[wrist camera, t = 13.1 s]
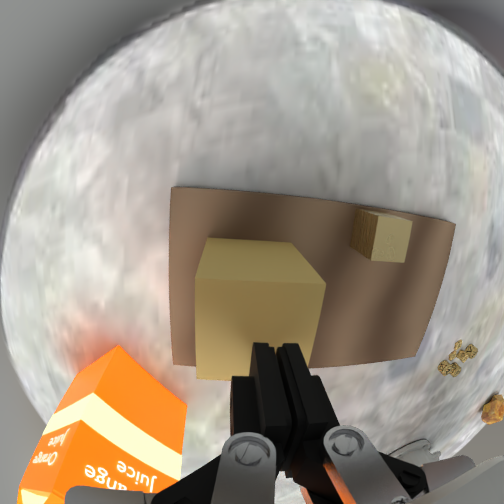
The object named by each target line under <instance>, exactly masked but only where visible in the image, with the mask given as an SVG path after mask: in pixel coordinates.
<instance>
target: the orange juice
mask: <svg viewBox="0 0 504 504" xmlns="http://www.w3.org/2000/svg"><path fill="white" fill-rule="evenodd" d="M186 411H187V405H186V404H185V403H183V402H182V401H181V400H179V399H178V398H177V397H176V396H174V395H173V394H172V393H171V392H170V391H168V390H167V389H166V388H165V387H163V386H162V385H161V384H160V383H159V382H158V381H156V380H155V379H154V378H153V377H152V376H151V375H150V374H149V373H147V372H146V371H145V370H144V369H143V368H142V367H141V366H140V365H139V364H138V363H137V362H135V361H134V360H133V359H132V358H131V357H130V356H129V355H128V354H127V353H126V352H125V351H124V350H123V349H122V348H121V347H120V346H119V345H118V346H116V347H115V348H114V349H112V350H111V351H109V352H108V353H106V354H105V355H104V356H102V357H101V358H99V359H98V360H97V361H95V362H94V363H92V364H91V365H89V366H88V367H87V368H85V369H84V370H82V371H81V372H79V373H78V374H77V375H76V377H75V378H74V380H73V382H72V383H71V385H70V387H69V388H68V390H67V392H66V393H65V395H64V397H63V399H62V400H61V402H60V404H59V406H58V407H57V409H56V411H55V413H54V414H53V415H52V417H51V419H50V421H49V423H48V425H47V427H46V429H45V430H44V432H43V434H42V435H43V436H42V438H41V440H40V442H39V444H38V446H37V448H36V450H35V452H34V454H33V456H32V458H31V460H30V463H29V465H28V467H27V469H26V472H25V474H24V476H23V479H22V481H21V483H20V486H19V492H18V500H17V504H64V498H65V495H66V492H67V491H68V490H69V489H70V488H71V487H74V486H76V485H84V486H91V487H98V488H107V489H117V490H133V491H143V492H144V493H158V492H160V491H161V490H163V489H165V488H167V487H169V486H170V485H172V484H174V483H176V482H178V481H179V480H180V473H181V462H182V445H183V436H184V428H185V419H186Z"/></svg>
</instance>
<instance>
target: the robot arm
mask: <svg viewBox="0 0 504 504" xmlns="http://www.w3.org/2000/svg"><path fill="white" fill-rule="evenodd" d="M230 434H231V437H230V438H229V439H228V440H227V441H226V442H225V443H224V446H223V448H222V453H221V455H219V456H218V457H216V458H215V459H213V460H212V461H210V462H209V463H207V464H206V465H204V466H202V467H201V468H199V469H198V470H196V471H194V472H193V473H191V474H190V475H188V476H186V477H185V478H183V479H181V480H179V481H178V482H176V483H174V484H172V485H170V486H169V487H167V488H165V489H163V490H161V491H160V492H158V493H144V492H143V491H133V490H117V489H107V488H98V487H91V486H84V485H76V486H74V487H71V488H70V489H69V490H68V491H67V492H66V495H65V498H64V504H274V497H275V481H276V478H277V476H278V474H279V471H285V476H286V478H293V481H294V482H295V483H297V484H299V485H300V490H301V493H302V495H303V497H304V500H305V502H306V504H504V455H502V456H498V457H495V458H492V459H489V460H487V461H485V462H483V463H481V464H479V465H477V466H475V463H474V462H473V460H472V459H471V458H469V457H468V456H464V455H461V456H456V457H452V458H448V459H444V460H440V461H439V456H440V455H441V452H440V451H437V452H435V453H433V454H431V453H430V452H429V449H430V443H429V441H428V440H420V441H416V442H414V443H411V444H409V445H407V446H405V447H403V448H401V449H399V450H397V451H396V452H394V453H392V454H391V455H386V454H384V453H381V452H378V451H377V450H376V448H375V447H374V445H373V444H372V443H371V441H370V440H369V438H368V437H367V435H366V434H365V433H364V432H363V431H361V430H360V429H358V428H356V427H353V426H346V425H342V426H340V424H339V422H338V420H337V417H336V415H335V412H334V410H333V408H332V405H331V403H330V400H329V398H328V396H327V393H326V391H325V388H324V386H323V384H322V381H321V379H320V377H319V376H318V375H314V376H311V374H310V372H309V369H308V367H307V364H306V361H305V359H304V356H303V354H302V351H301V349H300V346H299V344H298V343H283V344H282V347H277V350H276V353H275V349H274V347H269V344H268V343H260V342H253V346H252V354H251V362H250V370H249V376H232V378H231V392H230Z"/></svg>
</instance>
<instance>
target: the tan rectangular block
mask: <svg viewBox="0 0 504 504" xmlns="http://www.w3.org/2000/svg"><path fill="white" fill-rule="evenodd" d="M325 288H326V283H325V281H324V280H323V279H322V278H321V277H320V276H319V274H318V273H317V272H316V271H315V270H314V268H313V267H312V266H311V265H310V264H309V263H308V261H307V260H306V259H305V258H304V257H303V256H302V254H301V253H300V252H299V251H298V250H297V249H296V248H295V246H294V245H293V244H292V243H288V242H273V241H257V240H241V239H224V238H207V241H206V244H205V247H204V250H203V253H202V256H201V260H200V263H199V266H198V269H197V273H196V276H195V346H196V374H197V379H205V380H225V381H231V378H232V376H249V370H250V362H251V354H252V346H253V342H260V343H268V344H269V347H274V349H275V353H276V350H277V347H282V344H283V343H298V344H299V346H300V349H301V351H302V354H303V356H304V359H305V361H306V364H307V367H308V364H309V360H310V356H311V352H312V348H313V344H314V340H315V335H316V331H317V326H318V322H319V317H320V313H321V308H322V303H323V298H324V293H325Z"/></svg>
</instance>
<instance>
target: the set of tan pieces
mask: <svg viewBox="0 0 504 504" xmlns="http://www.w3.org/2000/svg"><path fill="white" fill-rule="evenodd" d="M461 345H462V340H459V341H458V342H456V343H455V347H454V349H455V350H457V349H459V348H460V347H461ZM477 352H478V349H477V348H476V347H475V346H473V345H472V344H470V345H469V346H468V347H467V348H466V350H465V352H464V351H463V350H460V351H459V352H458V354H457V355H456V351H453V352H452V353H451V354H449V360H450V361H451V360H452V359H454V358H455V357H457V358H459V359H460V360H461V361H462V362H463V363H464V362H465V361H466V360H467V359H468V357H469V358H470V359H472V358H474V357H475V356H476V354H477ZM438 370H439V371H440V372H441V373H442V375H443V376H446V375H447V374H449V373H450V374H451V375H452V376H453V377H456V376H457V375H458V374H459V373H460V371H461V367H460V366H459V365H458V364H457V363H456V362H455V363H452V364H451V365H450V364H449V363H448V362H447V361H446V360H444V361H442V362H441V363H440V365H439V366H438Z"/></svg>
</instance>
